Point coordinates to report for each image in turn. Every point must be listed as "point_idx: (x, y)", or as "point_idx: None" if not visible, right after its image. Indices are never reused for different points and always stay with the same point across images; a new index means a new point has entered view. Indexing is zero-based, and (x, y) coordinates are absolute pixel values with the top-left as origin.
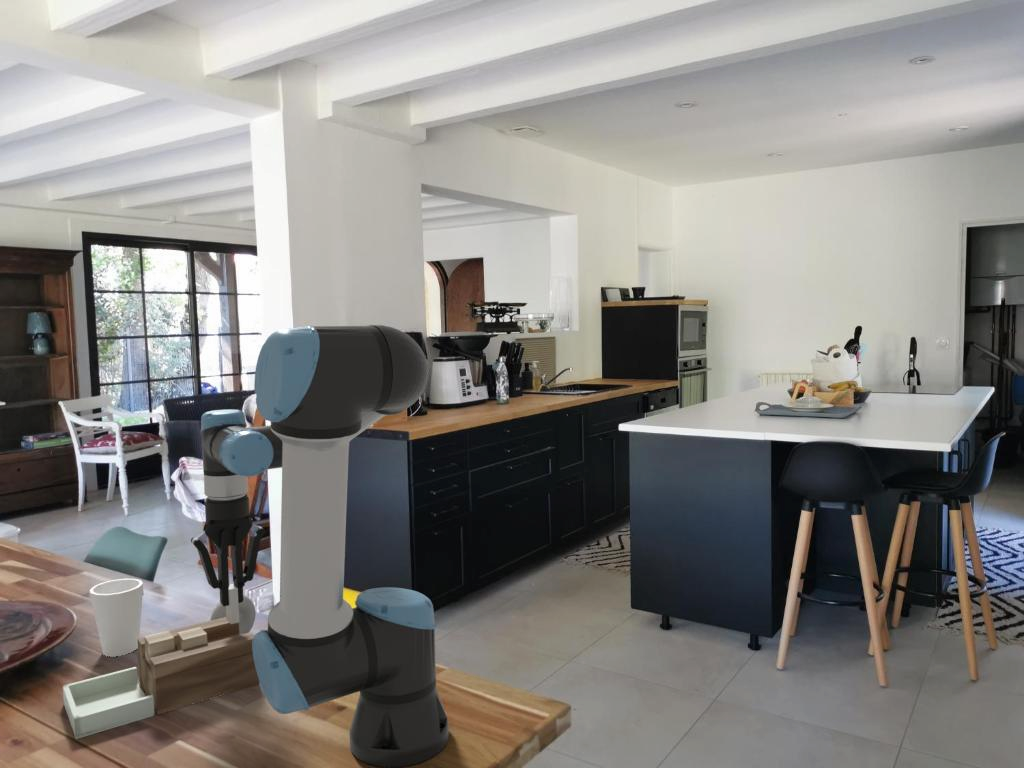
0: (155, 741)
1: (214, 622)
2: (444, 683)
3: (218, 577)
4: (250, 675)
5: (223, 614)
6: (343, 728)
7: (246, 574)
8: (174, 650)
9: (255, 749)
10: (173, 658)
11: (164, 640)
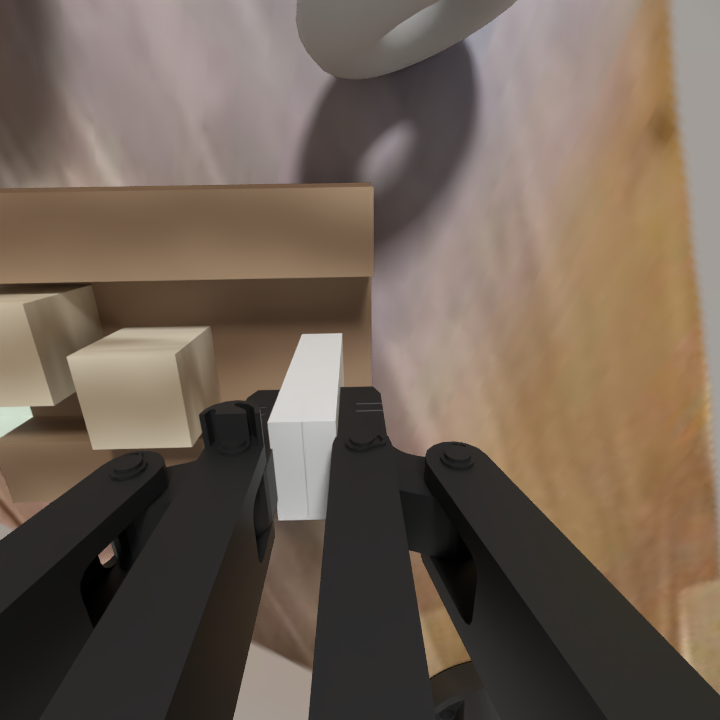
0: None
1: (268, 226)
2: (673, 619)
3: (183, 492)
4: None
5: (354, 40)
6: (433, 649)
7: (433, 566)
8: None
9: (281, 631)
10: None
11: (14, 406)
